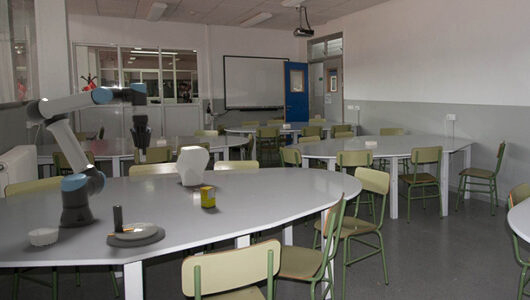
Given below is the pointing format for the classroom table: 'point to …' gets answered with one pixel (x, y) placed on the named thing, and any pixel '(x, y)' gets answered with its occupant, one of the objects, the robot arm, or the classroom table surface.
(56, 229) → the ramekin
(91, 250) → the classroom table surface
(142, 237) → the dial
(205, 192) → the supplement box
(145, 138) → the robot arm
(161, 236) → the base plate
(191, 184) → the white faceted lump
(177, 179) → the classroom table surface
